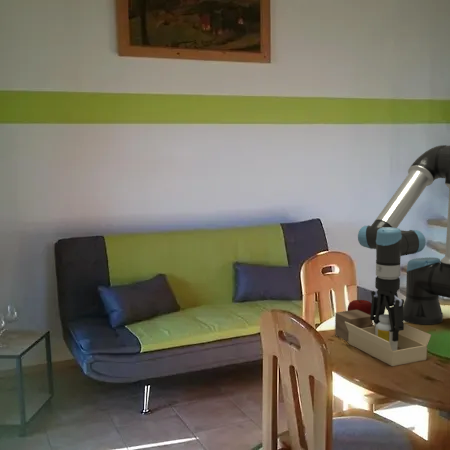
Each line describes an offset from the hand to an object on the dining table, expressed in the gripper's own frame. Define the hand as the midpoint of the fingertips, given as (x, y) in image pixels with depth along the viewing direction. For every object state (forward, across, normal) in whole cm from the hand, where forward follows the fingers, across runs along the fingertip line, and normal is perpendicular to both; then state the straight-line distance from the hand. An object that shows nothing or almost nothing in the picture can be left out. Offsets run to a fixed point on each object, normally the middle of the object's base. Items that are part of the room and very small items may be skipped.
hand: (385, 346), depth 205 cm
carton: (+1, 0, 0) cm, 1 cm away
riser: (+1, -16, -1) cm, 17 cm away
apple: (+2, -25, +8) cm, 26 cm away
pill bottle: (+2, 0, 0) cm, 2 cm away
